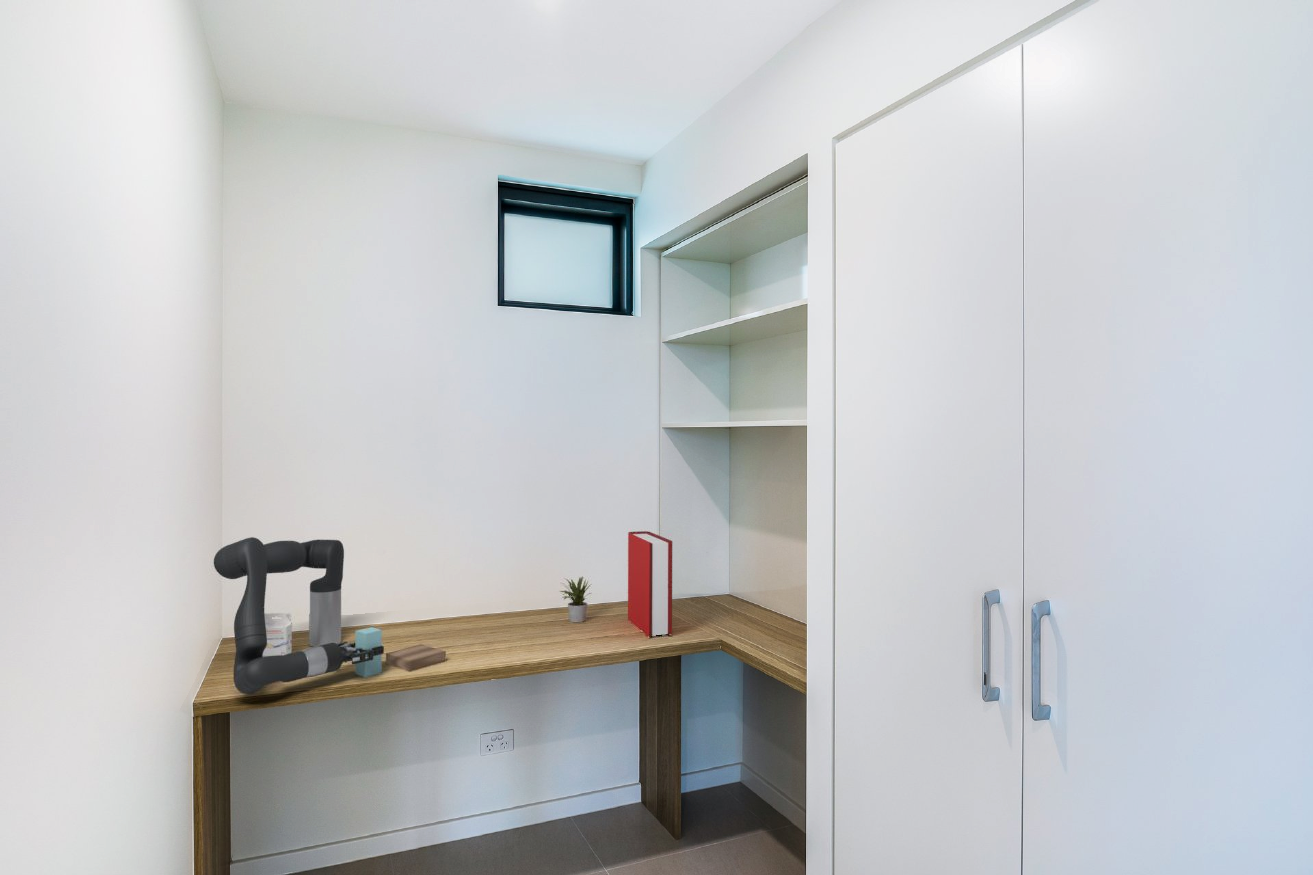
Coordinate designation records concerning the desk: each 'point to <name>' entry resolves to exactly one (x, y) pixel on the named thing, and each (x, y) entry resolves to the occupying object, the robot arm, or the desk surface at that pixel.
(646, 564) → the book
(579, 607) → the house plant
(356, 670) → the tall teal brick
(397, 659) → the walnut block
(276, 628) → the ink cartridge box
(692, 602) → the desk surface
